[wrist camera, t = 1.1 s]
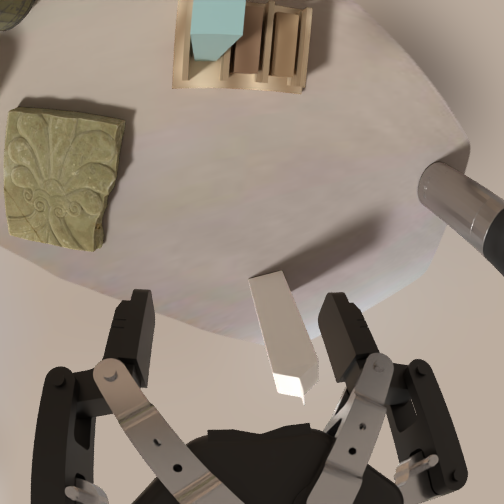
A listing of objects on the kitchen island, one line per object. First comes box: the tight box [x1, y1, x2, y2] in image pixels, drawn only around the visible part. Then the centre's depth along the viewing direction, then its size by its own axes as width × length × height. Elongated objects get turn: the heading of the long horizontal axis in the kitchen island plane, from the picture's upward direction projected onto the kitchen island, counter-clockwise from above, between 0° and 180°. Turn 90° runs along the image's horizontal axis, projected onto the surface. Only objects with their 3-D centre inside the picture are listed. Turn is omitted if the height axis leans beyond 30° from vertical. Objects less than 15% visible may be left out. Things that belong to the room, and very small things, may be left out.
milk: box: [248, 271, 319, 405], centre depth 42 cm, size 6×6×22 cm
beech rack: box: [172, 0, 313, 94], centre depth 27 cm, size 16×12×6 cm
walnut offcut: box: [229, 6, 264, 74], centre depth 26 cm, size 2×8×5 cm, turn 175°
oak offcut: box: [269, 12, 299, 78], centre depth 27 cm, size 2×8×4 cm, turn 176°
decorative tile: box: [4, 107, 125, 252], centre depth 33 cm, size 19×20×4 cm
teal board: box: [190, 0, 246, 61], centre depth 18 cm, size 2×5×22 cm, turn 176°
